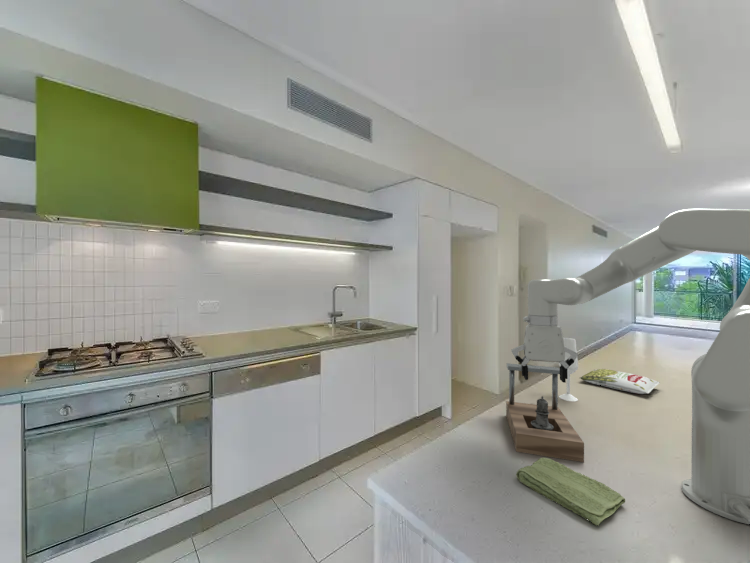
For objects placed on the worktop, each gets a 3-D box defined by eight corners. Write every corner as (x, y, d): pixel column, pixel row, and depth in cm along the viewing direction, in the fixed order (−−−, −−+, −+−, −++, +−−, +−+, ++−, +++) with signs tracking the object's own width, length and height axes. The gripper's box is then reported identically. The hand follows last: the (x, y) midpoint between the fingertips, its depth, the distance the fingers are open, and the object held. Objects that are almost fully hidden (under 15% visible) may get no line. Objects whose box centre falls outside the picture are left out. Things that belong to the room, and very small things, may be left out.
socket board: (583, 462, 79) (584, 442, 79) (516, 451, 84) (516, 433, 84) (558, 422, 102) (558, 407, 102) (506, 415, 106) (506, 401, 106)
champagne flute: (582, 400, 122) (582, 339, 122) (570, 402, 119) (570, 340, 119) (566, 394, 128) (566, 337, 128) (554, 396, 126) (555, 337, 126)
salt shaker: (556, 443, 86) (557, 400, 86) (534, 440, 87) (534, 398, 88) (549, 433, 92) (549, 393, 92) (528, 431, 93) (528, 391, 93)
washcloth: (601, 533, 57) (601, 516, 57) (513, 481, 71) (513, 467, 71) (628, 506, 64) (628, 491, 64) (543, 463, 79) (543, 451, 79)
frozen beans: (594, 363, 156) (660, 375, 136) (594, 375, 156) (660, 388, 136) (578, 371, 143) (648, 386, 123) (578, 384, 143) (648, 400, 123)
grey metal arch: (561, 411, 98) (562, 370, 98) (507, 405, 103) (508, 366, 103) (558, 407, 102) (558, 367, 102) (506, 401, 106) (506, 363, 107)
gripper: (512, 321, 89) (513, 381, 88) (581, 323, 84) (582, 386, 83) (509, 319, 96) (510, 374, 96) (572, 320, 91) (573, 378, 91)
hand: (544, 379), depth 89 cm, fingers open, 9 cm apart
